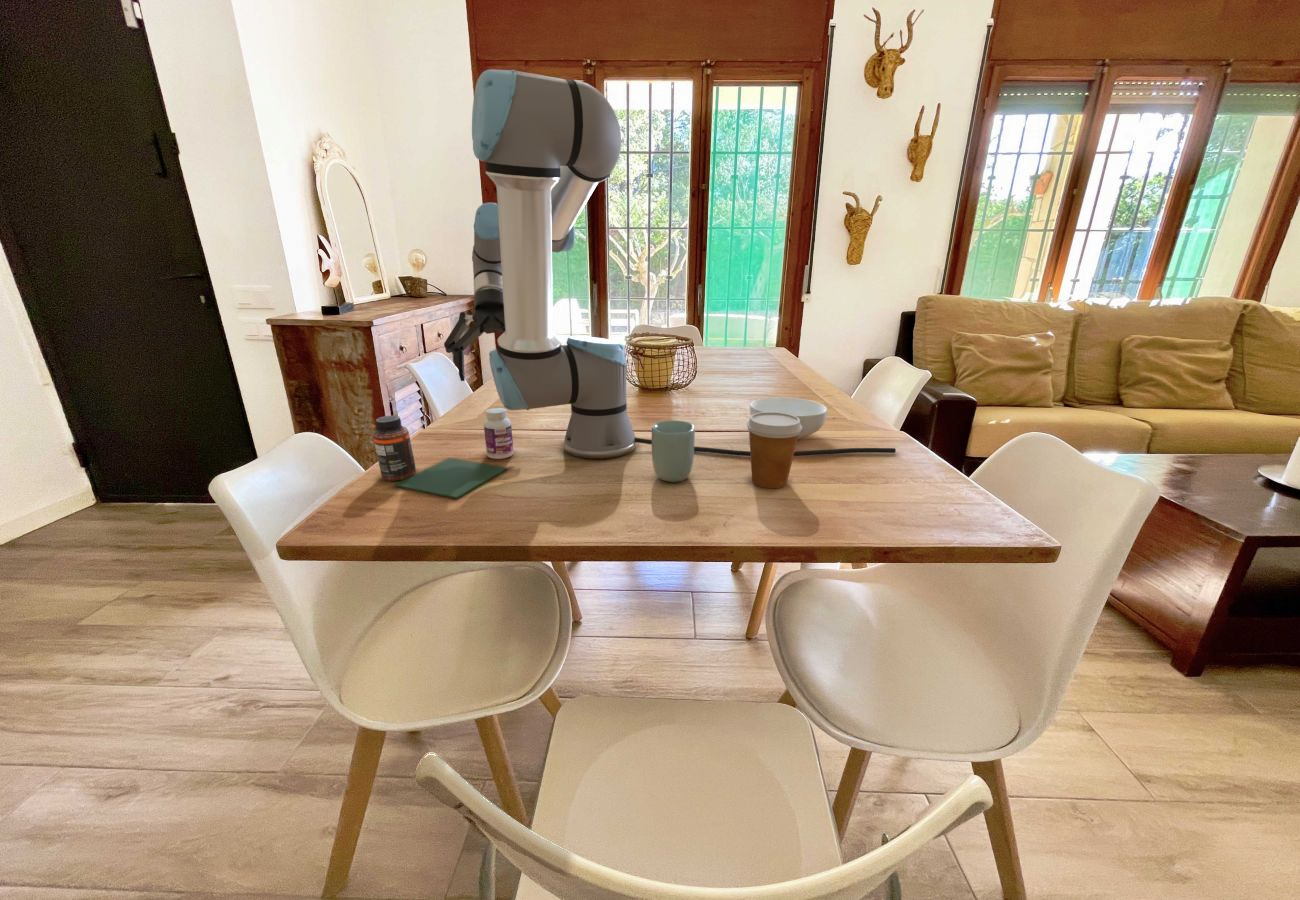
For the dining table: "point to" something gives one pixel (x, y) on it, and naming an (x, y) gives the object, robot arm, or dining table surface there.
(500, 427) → the pill bottle
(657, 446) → the cup
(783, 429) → the disposable coffee cup
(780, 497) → the dining table surface
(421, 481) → the green mat
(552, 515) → the dining table surface
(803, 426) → the cereal bowl
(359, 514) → the dining table surface
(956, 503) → the dining table surface
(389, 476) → the supplement bottle
